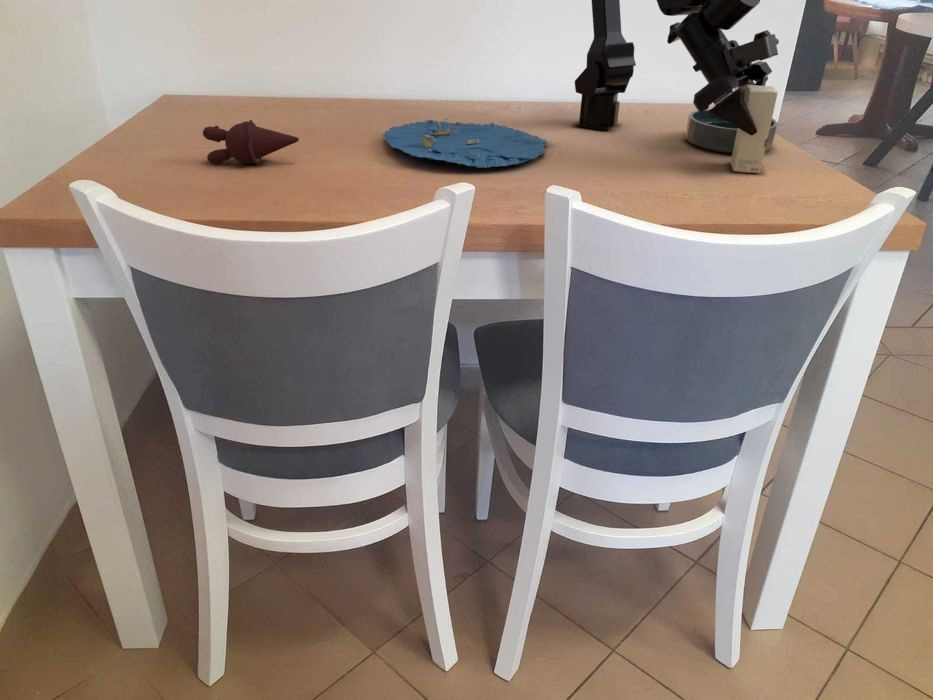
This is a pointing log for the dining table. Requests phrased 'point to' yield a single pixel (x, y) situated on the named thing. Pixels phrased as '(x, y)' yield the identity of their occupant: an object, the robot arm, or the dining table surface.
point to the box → (753, 147)
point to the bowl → (717, 132)
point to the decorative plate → (466, 143)
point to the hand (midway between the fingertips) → (761, 130)
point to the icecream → (246, 142)
